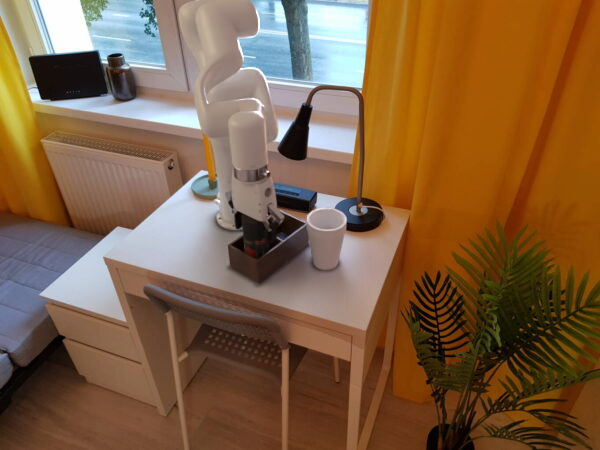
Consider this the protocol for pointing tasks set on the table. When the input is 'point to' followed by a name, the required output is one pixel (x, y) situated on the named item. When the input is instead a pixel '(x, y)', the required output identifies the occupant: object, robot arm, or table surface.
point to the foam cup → (326, 236)
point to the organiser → (270, 250)
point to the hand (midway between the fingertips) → (255, 233)
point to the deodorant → (254, 237)
